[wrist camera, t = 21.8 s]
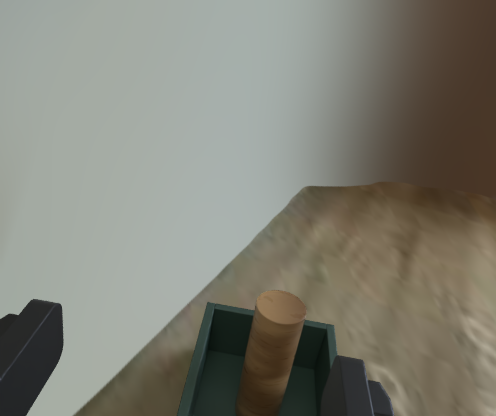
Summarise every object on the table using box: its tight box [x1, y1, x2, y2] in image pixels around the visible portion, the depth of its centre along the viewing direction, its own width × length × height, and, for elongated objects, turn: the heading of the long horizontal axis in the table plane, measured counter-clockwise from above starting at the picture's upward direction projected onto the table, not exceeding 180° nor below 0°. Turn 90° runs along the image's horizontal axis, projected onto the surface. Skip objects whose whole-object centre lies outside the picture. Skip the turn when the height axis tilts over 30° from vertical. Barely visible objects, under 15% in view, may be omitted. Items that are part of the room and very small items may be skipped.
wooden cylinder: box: [235, 290, 307, 416], centre depth 38 cm, size 4×4×12 cm
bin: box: [177, 302, 337, 416], centre depth 40 cm, size 13×14×6 cm
